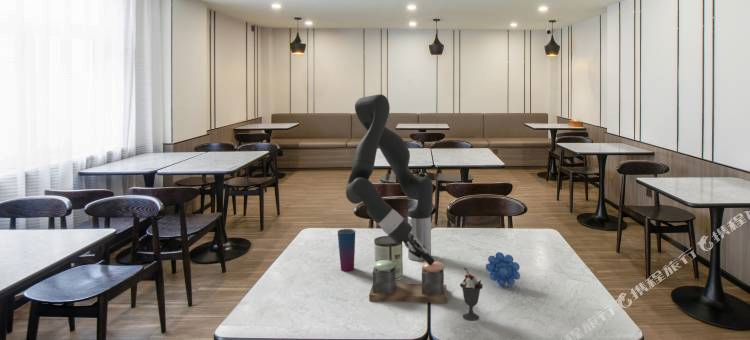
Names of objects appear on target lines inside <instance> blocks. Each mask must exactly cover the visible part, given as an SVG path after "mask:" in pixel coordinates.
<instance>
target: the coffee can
mask: <svg viewBox="0 0 750 340" xmlns="http://www.w3.org/2000/svg"><path fill="white" fill-rule="evenodd" d="M373 242H374V263H375V262H376V261H380V260H389V261H392V262H394V266H396V282H397V281H399V280H401V279H403V277H404V274H403V270H404V268H403V267H404V266H403V241H401V242H400V243H396V242H394V241H393V240H392V239H391V238H390V237H389V236H388V235H381V236H378V237H375V238H374V240H373Z"/></svg>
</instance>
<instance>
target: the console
mask: <svg viewBox="0 0 750 340" xmlns="http://www.w3.org/2000/svg"><path fill="white" fill-rule="evenodd" d="M444 270H445V269H444V267H443V269H442V270H441V271H439V273H429V272H426V271H425V270H423V265H422V268H421V283H401V282H397V281H396V266H394V268H393V269H392V270H391V272H385V271H377V270H376V269H375V266H374V267H373V270H372V286H371V289H370V292H369V295H368V300H369V302H392V303H393V302H397V303H399V302H400V303H425V304H427V303H428V304H429V303H431V304H433V303H434V304H447V303H448V294H447V293H448V291H447V284H444V283H445V281H444V280H445V278H444V277H445V275H444V274H445V272H444Z"/></svg>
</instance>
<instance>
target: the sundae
mask: <svg viewBox="0 0 750 340" xmlns="http://www.w3.org/2000/svg"><path fill="white" fill-rule="evenodd" d="M463 270H465V272H466V275H464V278H463V280H462V281H461V283H460V284H459V285H460V288H461V289H462V294H463V296H462V297H463V300H464V303H465V304H466V305H467V306H468V309H469V310H468V312H467V313H463V315H462V318H463V319H464V320H466V321H471V322H472V321H473V322H474V321H477V320H479V319H480V315H478V314H477V313H475V312H474V307H475V306H476V305H477V304H478V303H479V298H480V291H481V289H482V290H483V284H482V280H481V279H480V280H479V281H478V278H477V277H475V276H474V275H472V274H470V272H469V271H468V269H467V268H466V267H464V268H463Z"/></svg>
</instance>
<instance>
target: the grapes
mask: <svg viewBox="0 0 750 340" xmlns="http://www.w3.org/2000/svg"><path fill="white" fill-rule="evenodd" d="M487 260H488V263H486V265H485V269H486V271H487V272H489V275H488V276H489V279H490V280H491V281H494V282H495V281H497V284H498V285H499V286H502V287H504V286H506V285H508V286H514V285H515V283H516V281H515V280H520V277H521V274H520V272H519V270H520V264H519V263H518V262H516V261H514V257H513V256H512V255H511V254H506V255H505V254H504V253H503V252H501V251H498V252H496V253H495V254H494V255H493V254H492V255H488V259H487Z"/></svg>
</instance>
